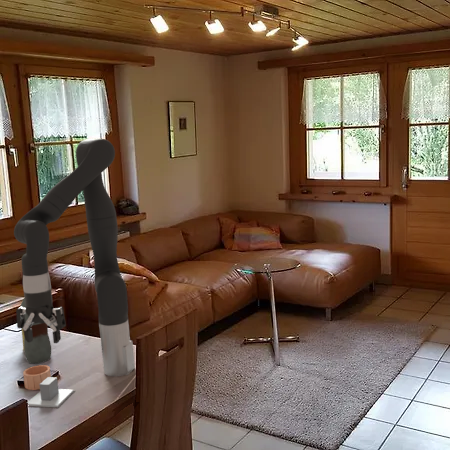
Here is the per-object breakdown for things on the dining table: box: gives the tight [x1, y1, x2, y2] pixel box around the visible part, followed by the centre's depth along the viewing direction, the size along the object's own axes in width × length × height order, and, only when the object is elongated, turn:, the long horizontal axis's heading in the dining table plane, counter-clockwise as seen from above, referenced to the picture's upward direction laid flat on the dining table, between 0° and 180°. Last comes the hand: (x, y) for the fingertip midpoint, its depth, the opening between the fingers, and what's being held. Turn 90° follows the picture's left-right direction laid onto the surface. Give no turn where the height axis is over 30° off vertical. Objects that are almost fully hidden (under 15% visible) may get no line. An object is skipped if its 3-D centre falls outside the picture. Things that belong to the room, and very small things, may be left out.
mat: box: [28, 390, 76, 409], centre depth 175 cm, size 11×11×1 cm
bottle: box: [19, 297, 52, 365], centre depth 204 cm, size 9×9×30 cm
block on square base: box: [27, 376, 75, 408], centre depth 174 cm, size 10×10×6 cm
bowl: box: [22, 364, 52, 391], centre depth 185 cm, size 8×8×5 cm
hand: (43, 342), depth 172 cm, fingers open, 8 cm apart
